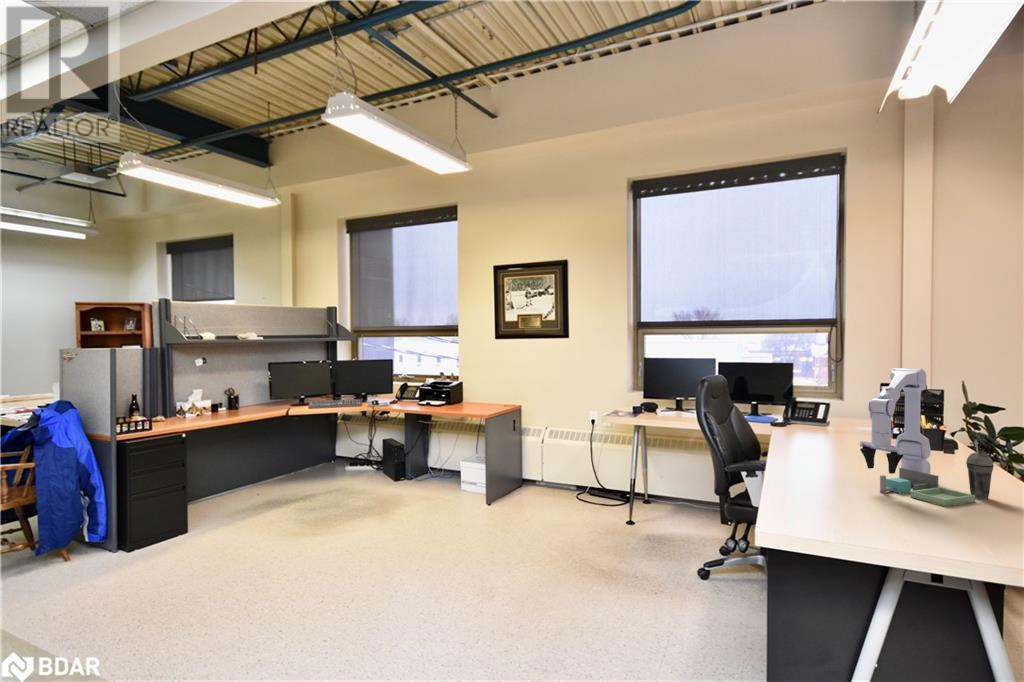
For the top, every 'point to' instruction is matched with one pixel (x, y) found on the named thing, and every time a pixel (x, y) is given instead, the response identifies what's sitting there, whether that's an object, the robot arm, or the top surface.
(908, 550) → the top surface
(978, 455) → the beverage cup
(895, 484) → the cyan and grey piece
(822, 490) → the top surface
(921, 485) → the rack
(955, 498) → the tray
